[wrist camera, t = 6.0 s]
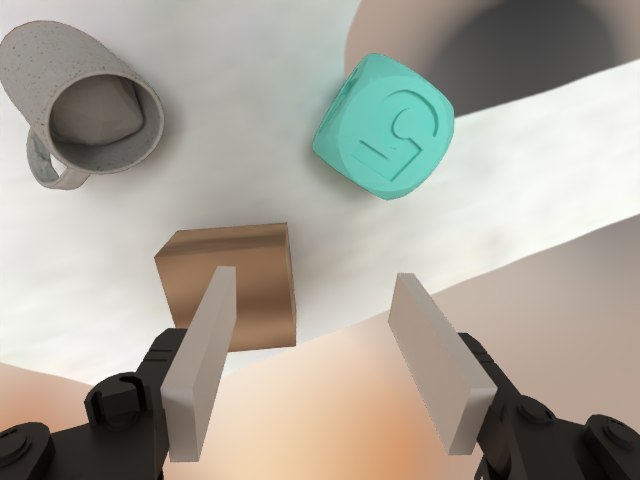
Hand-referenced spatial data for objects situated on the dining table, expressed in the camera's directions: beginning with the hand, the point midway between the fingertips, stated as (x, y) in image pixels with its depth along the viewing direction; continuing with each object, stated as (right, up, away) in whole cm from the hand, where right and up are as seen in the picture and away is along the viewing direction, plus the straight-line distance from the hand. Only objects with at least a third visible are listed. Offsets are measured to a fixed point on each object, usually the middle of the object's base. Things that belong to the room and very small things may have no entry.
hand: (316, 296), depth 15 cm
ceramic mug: (-18, +13, +13) cm, 26 cm away
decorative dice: (+5, +13, +15) cm, 20 cm away
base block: (-8, -1, +20) cm, 22 cm away
